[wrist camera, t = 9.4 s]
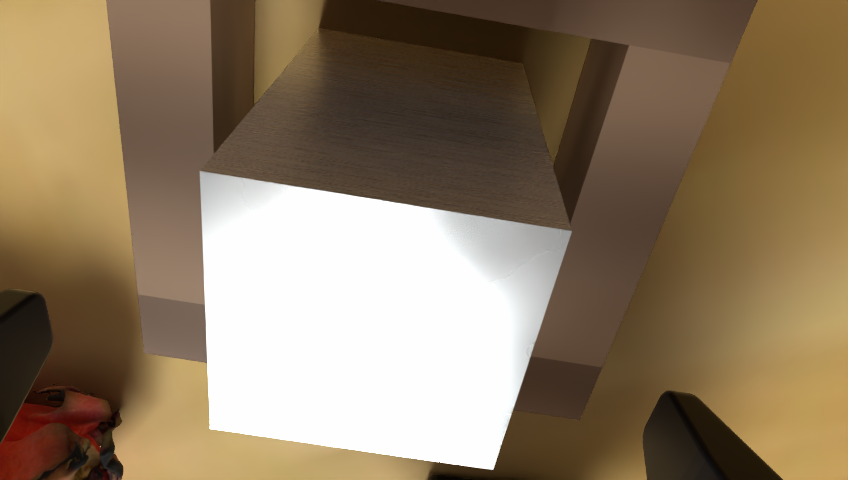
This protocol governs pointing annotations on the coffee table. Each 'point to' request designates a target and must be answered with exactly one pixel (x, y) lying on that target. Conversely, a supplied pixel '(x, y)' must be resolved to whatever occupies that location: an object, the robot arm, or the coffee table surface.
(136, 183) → the well block
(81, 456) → the dragon fruit
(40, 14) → the coffee table surface
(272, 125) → the rectangular block
